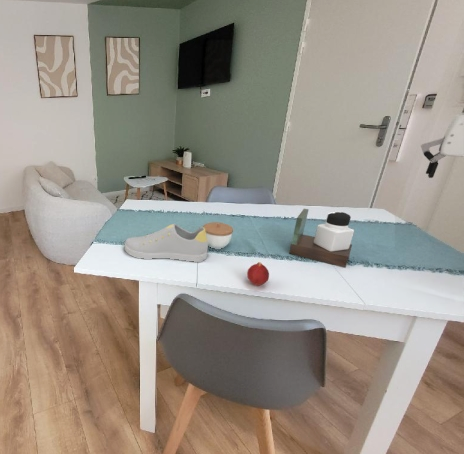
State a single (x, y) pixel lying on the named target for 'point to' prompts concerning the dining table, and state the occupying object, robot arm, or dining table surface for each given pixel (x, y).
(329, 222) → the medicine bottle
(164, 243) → the shoe
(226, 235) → the trinket box
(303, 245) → the brown hinged box
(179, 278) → the dining table surface
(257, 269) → the onion
